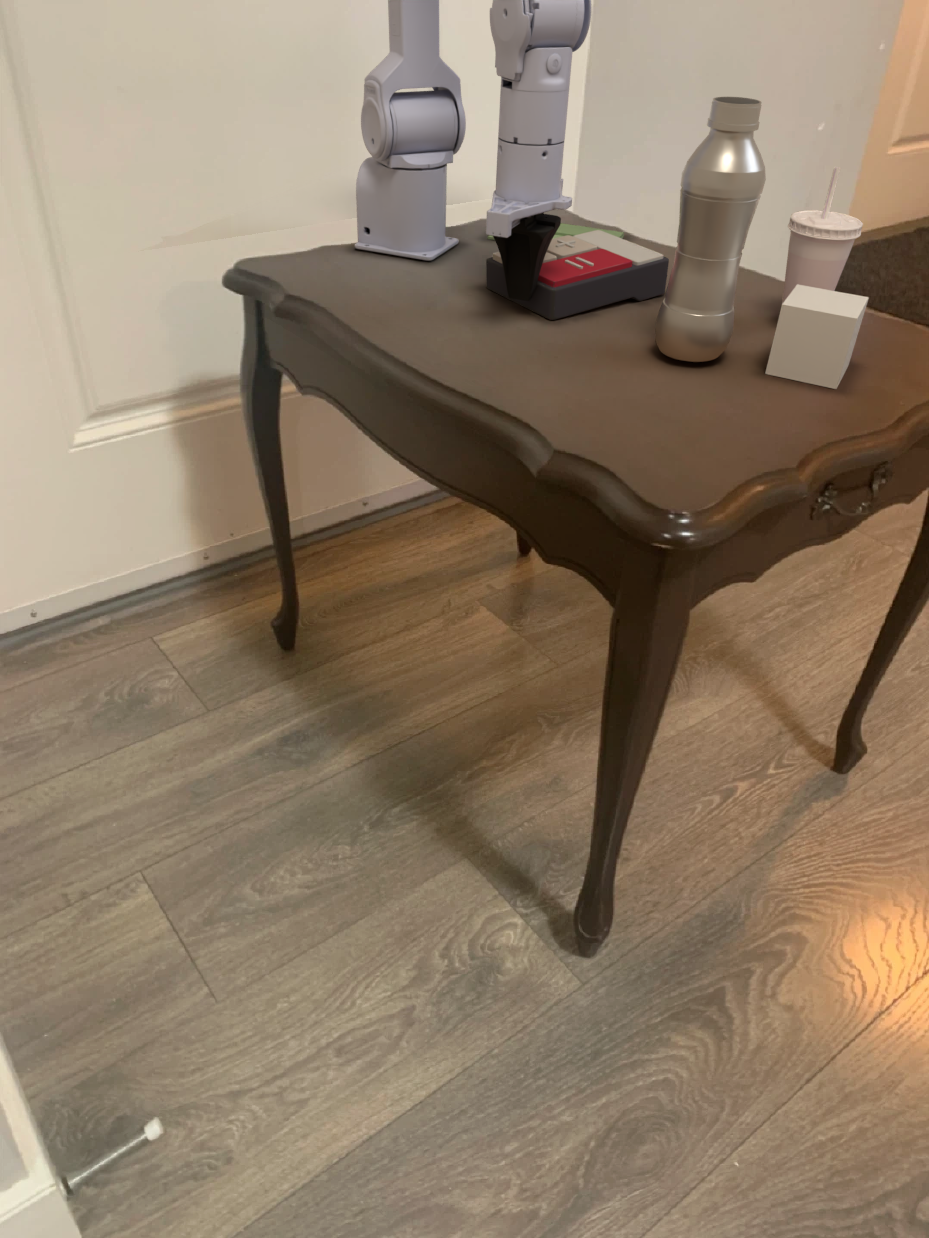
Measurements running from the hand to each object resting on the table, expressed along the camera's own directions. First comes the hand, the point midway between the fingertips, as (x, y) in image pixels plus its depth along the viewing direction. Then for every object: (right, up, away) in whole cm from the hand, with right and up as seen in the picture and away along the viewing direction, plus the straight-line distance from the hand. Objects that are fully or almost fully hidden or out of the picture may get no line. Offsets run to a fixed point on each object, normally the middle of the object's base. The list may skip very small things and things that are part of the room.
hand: (520, 298), depth 88 cm
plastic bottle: (+15, -7, -6) cm, 17 cm away
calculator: (+6, +3, +7) cm, 10 cm away
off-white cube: (+25, -9, -7) cm, 27 cm away
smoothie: (+27, -2, +2) cm, 27 cm away
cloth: (+6, +15, +22) cm, 27 cm away
